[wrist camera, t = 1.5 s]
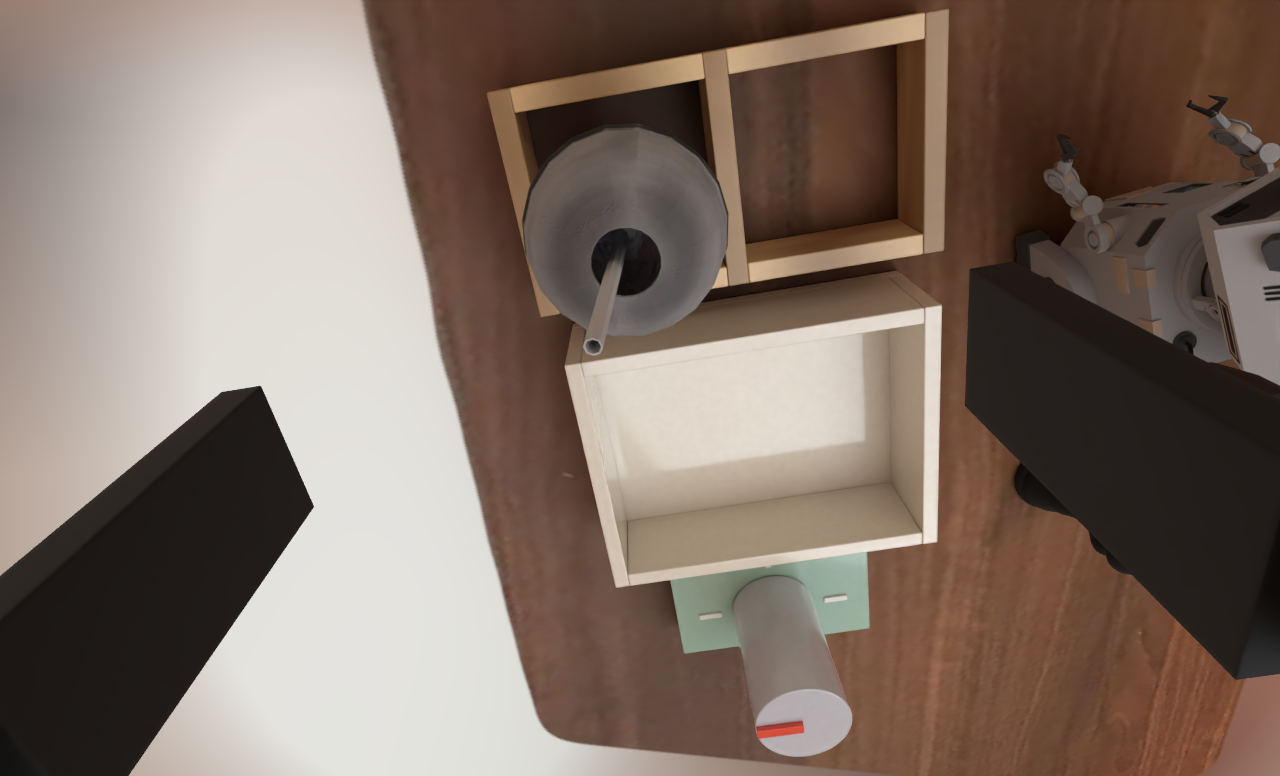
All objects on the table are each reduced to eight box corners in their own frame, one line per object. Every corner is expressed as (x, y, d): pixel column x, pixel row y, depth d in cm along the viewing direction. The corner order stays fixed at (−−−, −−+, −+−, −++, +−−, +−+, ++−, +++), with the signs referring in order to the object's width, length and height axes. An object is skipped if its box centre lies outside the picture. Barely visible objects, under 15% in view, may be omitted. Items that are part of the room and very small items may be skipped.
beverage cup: (728, 177, 35) (839, 306, 17) (629, 281, 37) (633, 493, 19) (621, 67, 33) (616, 80, 15) (522, 184, 35) (412, 320, 17)
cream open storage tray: (897, 269, 37) (942, 304, 32) (899, 483, 43) (937, 542, 38) (572, 323, 38) (563, 365, 33) (617, 524, 44) (615, 588, 39)
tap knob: (810, 569, 42) (852, 688, 35) (815, 631, 45) (856, 755, 37) (728, 581, 43) (751, 701, 35) (736, 641, 45) (761, 768, 37)
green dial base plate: (854, 503, 44) (867, 529, 41) (859, 619, 48) (871, 649, 45) (663, 531, 44) (665, 558, 42) (684, 643, 48) (687, 674, 46)
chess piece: (1041, 516, 44) (1148, 634, 35) (999, 477, 43) (1099, 590, 34) (1102, 471, 43) (1229, 582, 34) (1060, 429, 42) (1182, 533, 33)
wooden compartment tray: (917, 12, 32) (949, 7, 29) (916, 234, 36) (944, 251, 33) (499, 89, 33) (486, 92, 30) (547, 295, 37) (540, 317, 34)
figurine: (1192, 64, 33) (1585, 69, 20) (1186, 288, 38) (1498, 416, 24) (998, 125, 34) (1243, 169, 21) (1015, 335, 39) (1224, 484, 25)
